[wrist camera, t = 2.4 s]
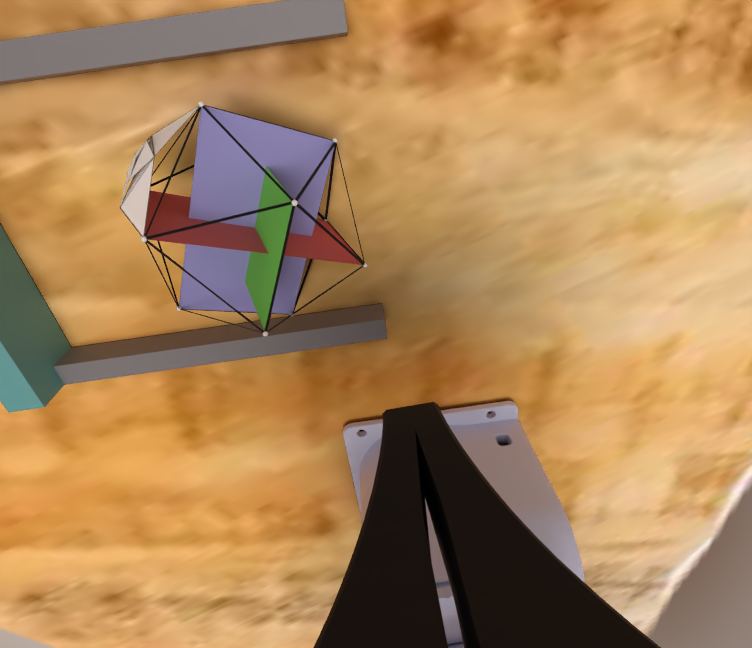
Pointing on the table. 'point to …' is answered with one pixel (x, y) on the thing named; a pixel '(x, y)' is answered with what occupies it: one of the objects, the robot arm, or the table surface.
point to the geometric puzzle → (240, 213)
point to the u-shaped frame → (176, 350)
